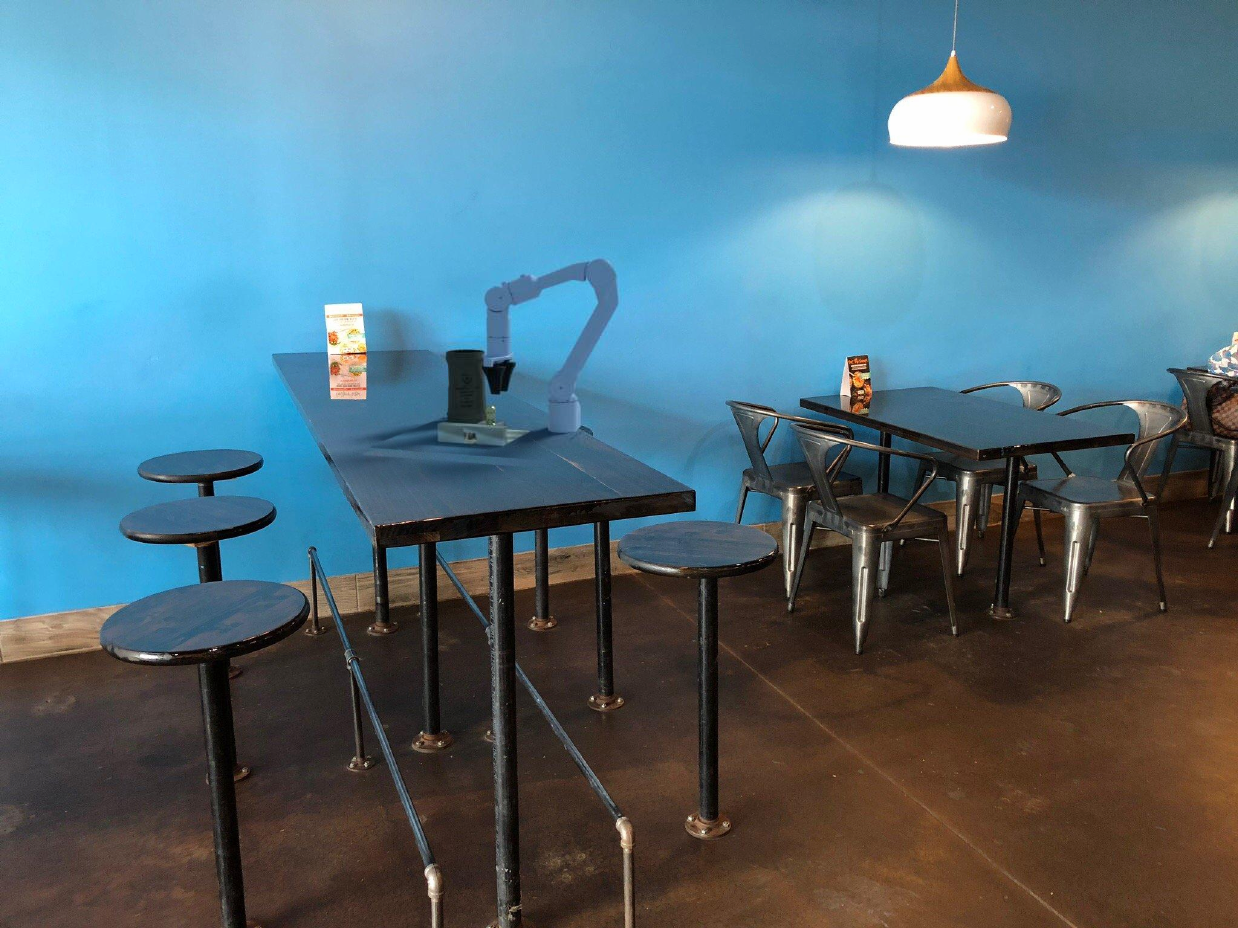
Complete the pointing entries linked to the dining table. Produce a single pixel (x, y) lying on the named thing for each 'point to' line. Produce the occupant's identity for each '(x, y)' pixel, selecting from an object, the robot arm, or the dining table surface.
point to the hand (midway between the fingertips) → (499, 392)
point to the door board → (484, 433)
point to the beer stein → (466, 387)
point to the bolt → (490, 416)
